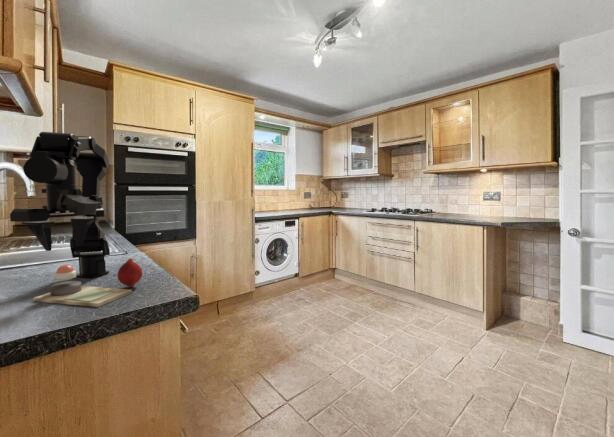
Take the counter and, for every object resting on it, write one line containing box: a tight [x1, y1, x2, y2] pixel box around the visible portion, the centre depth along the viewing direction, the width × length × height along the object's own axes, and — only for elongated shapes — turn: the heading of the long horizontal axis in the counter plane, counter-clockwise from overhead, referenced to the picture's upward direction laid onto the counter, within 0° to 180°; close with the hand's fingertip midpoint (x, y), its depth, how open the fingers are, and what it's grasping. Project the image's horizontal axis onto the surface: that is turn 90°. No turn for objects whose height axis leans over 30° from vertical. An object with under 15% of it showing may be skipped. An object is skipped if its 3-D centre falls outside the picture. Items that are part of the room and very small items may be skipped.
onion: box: [117, 257, 143, 288], centre depth 80 cm, size 6×6×8 cm
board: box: [32, 280, 133, 308], centre depth 73 cm, size 18×10×3 cm, turn 79°
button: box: [53, 264, 77, 281], centre depth 73 cm, size 4×4×3 cm
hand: (64, 248), depth 73 cm, fingers open, 7 cm apart
